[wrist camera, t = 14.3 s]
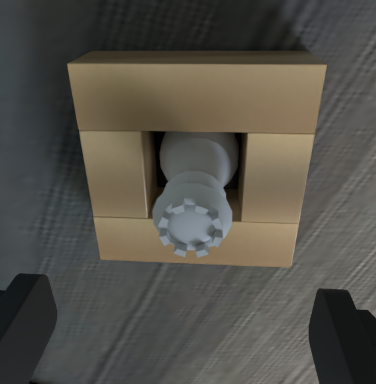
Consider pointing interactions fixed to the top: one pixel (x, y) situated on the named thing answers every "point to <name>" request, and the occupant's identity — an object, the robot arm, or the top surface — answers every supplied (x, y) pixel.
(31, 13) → the top surface
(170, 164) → the rook chess piece
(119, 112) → the holder
